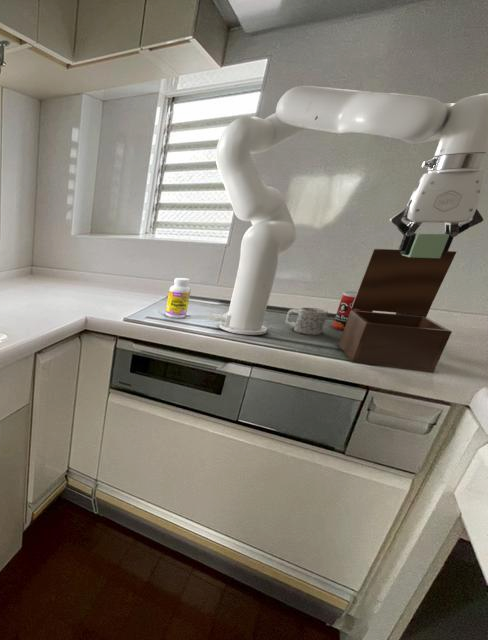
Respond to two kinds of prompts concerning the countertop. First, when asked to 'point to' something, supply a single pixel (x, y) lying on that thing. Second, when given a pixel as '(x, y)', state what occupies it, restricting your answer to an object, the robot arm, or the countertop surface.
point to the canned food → (345, 310)
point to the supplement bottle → (178, 298)
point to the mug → (308, 320)
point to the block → (428, 245)
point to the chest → (394, 340)
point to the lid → (401, 282)
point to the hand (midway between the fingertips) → (421, 253)
